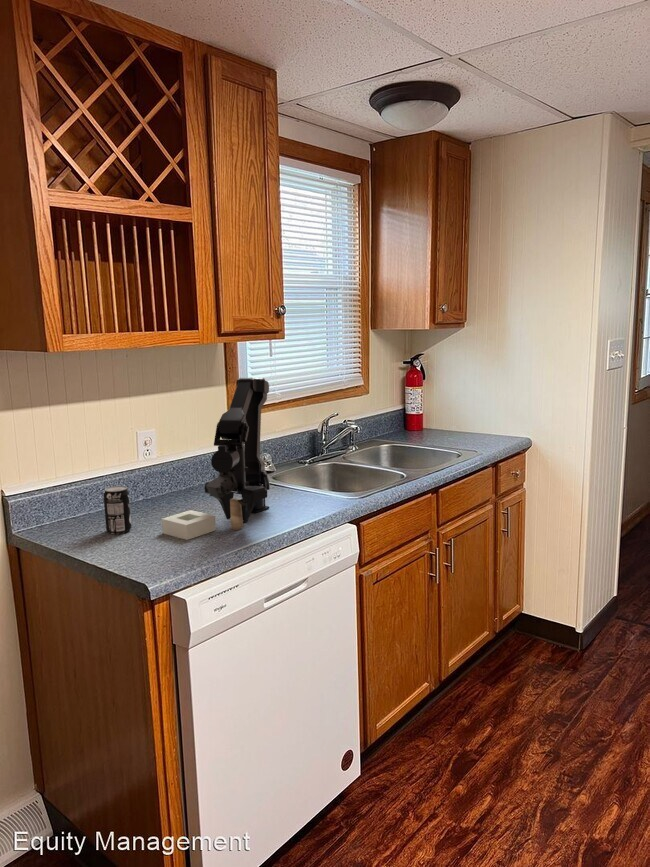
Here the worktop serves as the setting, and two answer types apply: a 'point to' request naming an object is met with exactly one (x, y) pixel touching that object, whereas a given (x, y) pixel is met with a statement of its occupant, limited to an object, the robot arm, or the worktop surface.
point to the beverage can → (117, 509)
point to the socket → (188, 524)
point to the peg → (236, 514)
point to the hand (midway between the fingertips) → (236, 520)
